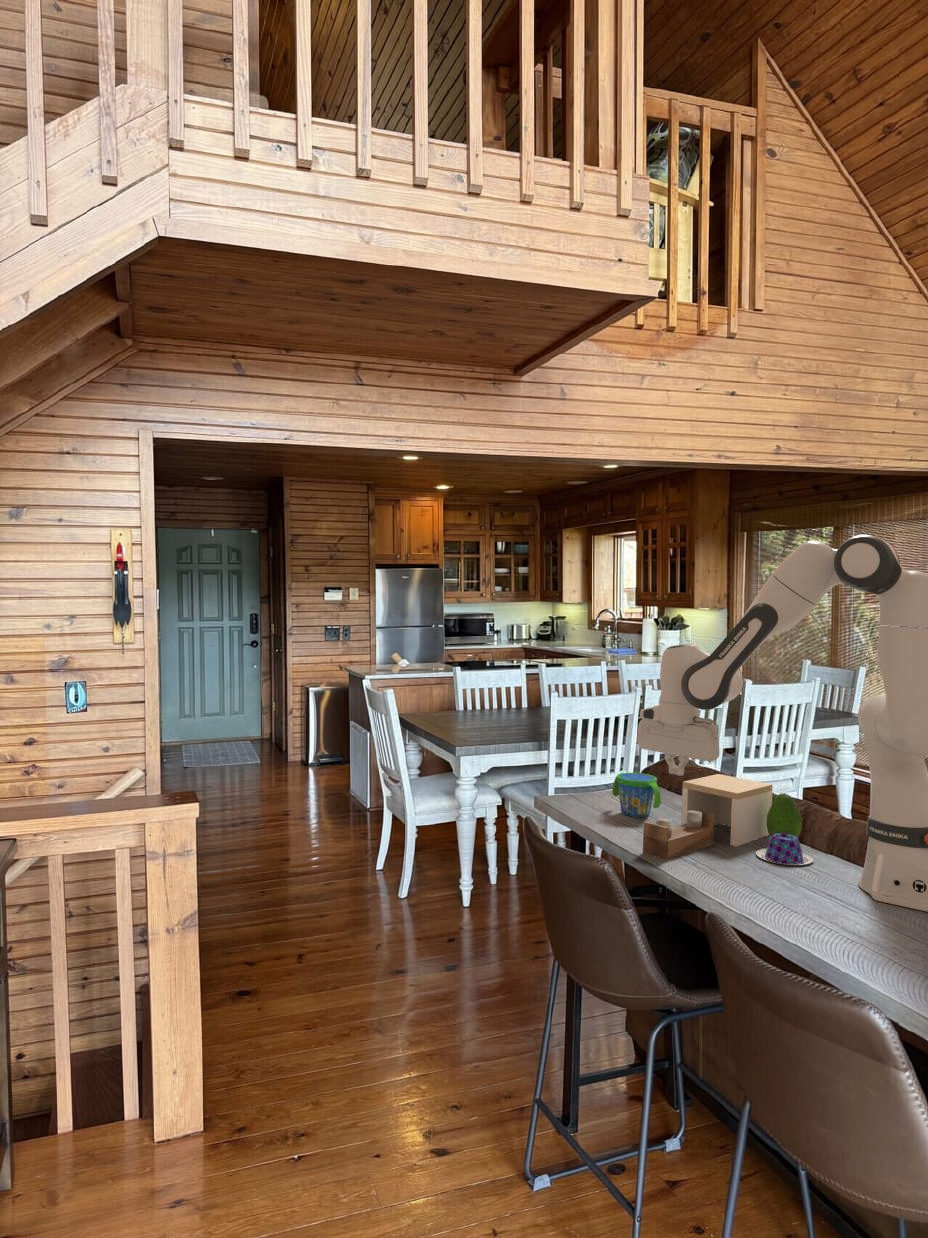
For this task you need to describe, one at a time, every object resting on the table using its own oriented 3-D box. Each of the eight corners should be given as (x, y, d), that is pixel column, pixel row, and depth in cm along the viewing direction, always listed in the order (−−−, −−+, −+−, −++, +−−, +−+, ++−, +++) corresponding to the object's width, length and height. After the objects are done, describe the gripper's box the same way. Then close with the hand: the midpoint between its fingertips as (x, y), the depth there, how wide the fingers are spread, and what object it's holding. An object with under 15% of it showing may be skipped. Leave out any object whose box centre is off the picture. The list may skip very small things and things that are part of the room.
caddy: (713, 844, 196) (714, 812, 196) (665, 859, 183) (666, 825, 183) (691, 838, 200) (692, 807, 200) (642, 853, 188) (643, 820, 188)
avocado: (767, 846, 195) (768, 795, 195) (764, 837, 203) (765, 788, 202) (803, 849, 193) (805, 798, 193) (799, 840, 201) (801, 791, 200)
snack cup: (670, 819, 217) (672, 780, 217) (639, 823, 212) (640, 784, 212) (632, 805, 231) (633, 769, 231) (601, 809, 226) (602, 772, 226)
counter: (770, 835, 205) (772, 784, 205) (736, 846, 194) (737, 793, 194) (716, 821, 216) (718, 774, 216) (681, 832, 206) (682, 781, 205)
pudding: (824, 867, 182) (825, 843, 181) (775, 869, 179) (775, 845, 179) (792, 850, 193) (792, 828, 193) (745, 852, 191) (745, 830, 191)
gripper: (726, 719, 184) (724, 781, 185) (650, 708, 200) (648, 765, 200) (710, 721, 180) (708, 784, 181) (634, 710, 196) (632, 768, 196)
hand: (676, 774), depth 191 cm, fingers closed
